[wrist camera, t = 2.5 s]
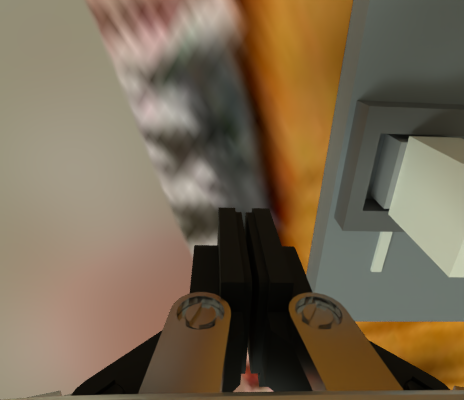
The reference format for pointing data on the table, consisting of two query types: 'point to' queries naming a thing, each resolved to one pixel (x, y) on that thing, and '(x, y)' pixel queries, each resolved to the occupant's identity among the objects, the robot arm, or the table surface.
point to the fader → (425, 194)
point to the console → (368, 154)
